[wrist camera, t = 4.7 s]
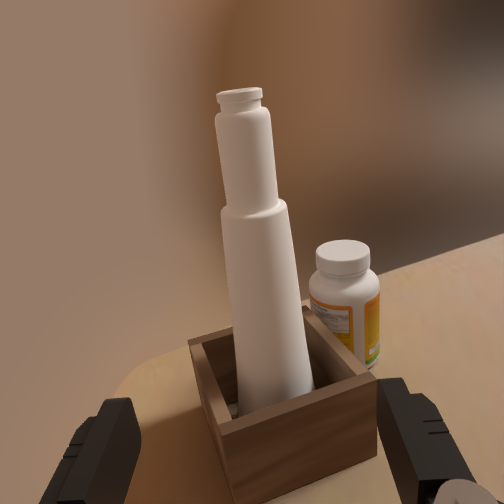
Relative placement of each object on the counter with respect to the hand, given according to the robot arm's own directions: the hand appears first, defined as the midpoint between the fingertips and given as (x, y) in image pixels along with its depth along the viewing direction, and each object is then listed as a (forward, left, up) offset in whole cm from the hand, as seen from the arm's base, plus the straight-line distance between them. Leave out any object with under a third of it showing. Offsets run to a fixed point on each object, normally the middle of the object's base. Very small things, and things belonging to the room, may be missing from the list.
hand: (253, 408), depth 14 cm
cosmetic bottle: (+10, -4, -13) cm, 17 cm away
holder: (+10, -4, -13) cm, 17 cm away
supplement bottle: (+15, -12, -13) cm, 23 cm away
